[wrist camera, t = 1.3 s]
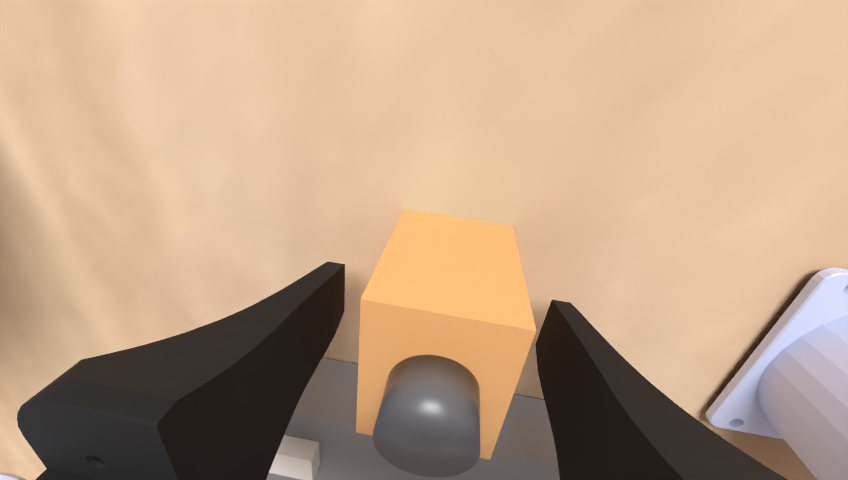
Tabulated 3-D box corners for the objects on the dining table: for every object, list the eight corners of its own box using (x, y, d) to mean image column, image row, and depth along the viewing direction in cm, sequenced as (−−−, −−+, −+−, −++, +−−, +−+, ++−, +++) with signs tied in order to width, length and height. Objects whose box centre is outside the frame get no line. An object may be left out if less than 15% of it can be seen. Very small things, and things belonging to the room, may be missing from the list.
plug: (513, 225, 12) (549, 387, 6) (485, 329, 15) (491, 520, 9) (404, 208, 13) (337, 347, 7) (394, 313, 15) (338, 487, 9)
